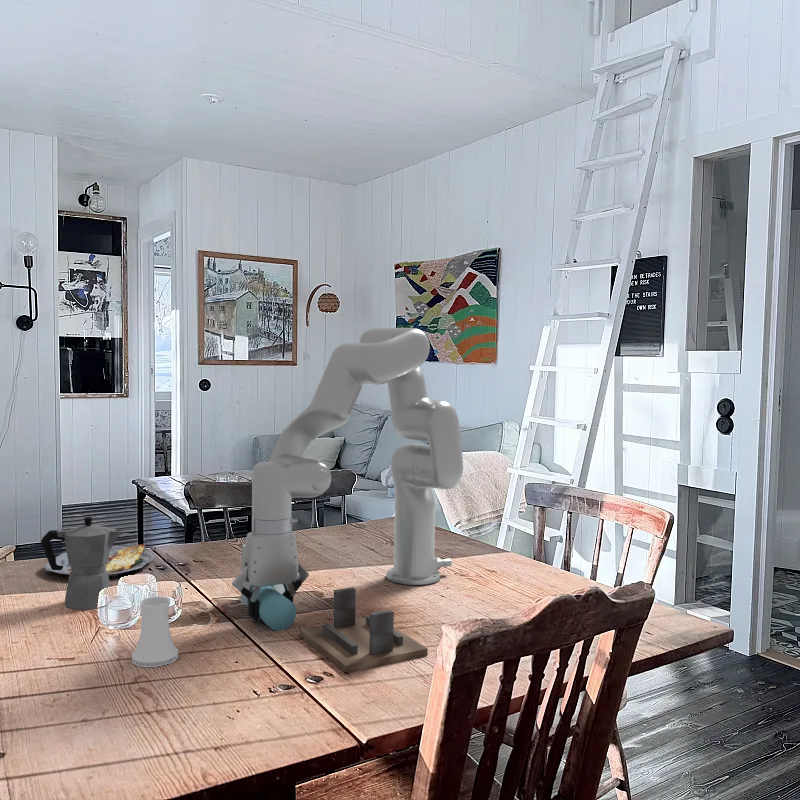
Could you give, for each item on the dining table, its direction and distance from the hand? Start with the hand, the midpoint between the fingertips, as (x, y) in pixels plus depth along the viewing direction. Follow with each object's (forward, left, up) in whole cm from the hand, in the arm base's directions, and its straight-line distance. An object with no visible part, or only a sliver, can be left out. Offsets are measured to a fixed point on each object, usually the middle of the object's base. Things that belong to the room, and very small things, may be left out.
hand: (270, 616), depth 151 cm
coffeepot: (+30, -27, -1) cm, 41 cm away
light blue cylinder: (0, 0, -1) cm, 1 cm away
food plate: (+22, -54, -1) cm, 58 cm away
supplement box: (-3, -12, -1) cm, 12 cm away
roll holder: (-10, +19, -1) cm, 22 cm away
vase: (+24, +8, -1) cm, 25 cm away
